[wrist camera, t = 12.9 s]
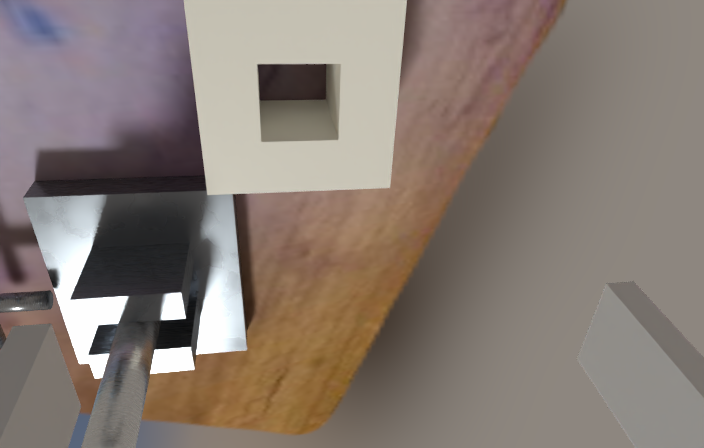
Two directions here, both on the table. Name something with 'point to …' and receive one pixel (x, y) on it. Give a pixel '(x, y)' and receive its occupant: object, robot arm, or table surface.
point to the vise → (136, 284)
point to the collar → (296, 115)
